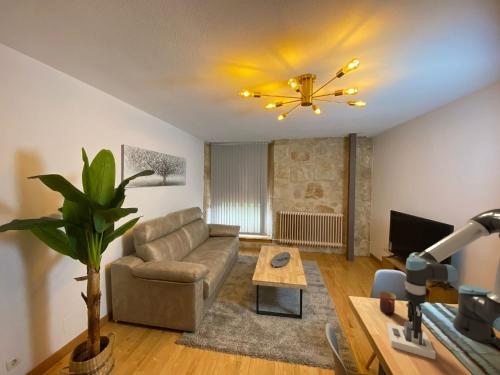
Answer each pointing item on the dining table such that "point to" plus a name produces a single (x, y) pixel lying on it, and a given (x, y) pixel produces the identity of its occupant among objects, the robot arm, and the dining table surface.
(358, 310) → the dining table surface
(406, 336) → the plug
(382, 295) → the mug
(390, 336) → the socket plate
